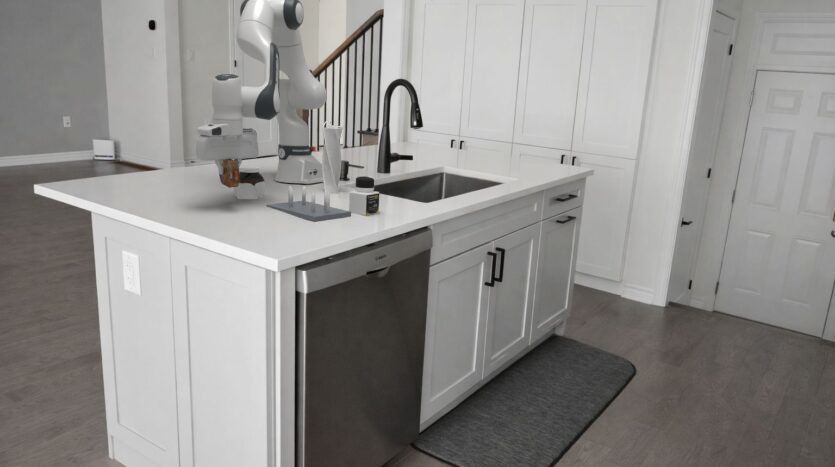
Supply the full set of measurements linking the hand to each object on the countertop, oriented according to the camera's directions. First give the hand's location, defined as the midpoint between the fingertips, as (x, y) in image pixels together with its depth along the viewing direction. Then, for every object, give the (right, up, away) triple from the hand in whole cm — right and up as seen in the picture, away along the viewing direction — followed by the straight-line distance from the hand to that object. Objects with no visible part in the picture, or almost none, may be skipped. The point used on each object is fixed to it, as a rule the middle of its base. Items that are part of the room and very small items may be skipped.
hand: (228, 173), depth 195 cm
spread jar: (+1, -8, +20) cm, 21 cm away
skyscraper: (+26, -5, +38) cm, 47 cm away
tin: (0, -4, +1) cm, 4 cm away
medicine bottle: (+41, -12, +11) cm, 44 cm away
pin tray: (+24, -12, +6) cm, 27 cm away
